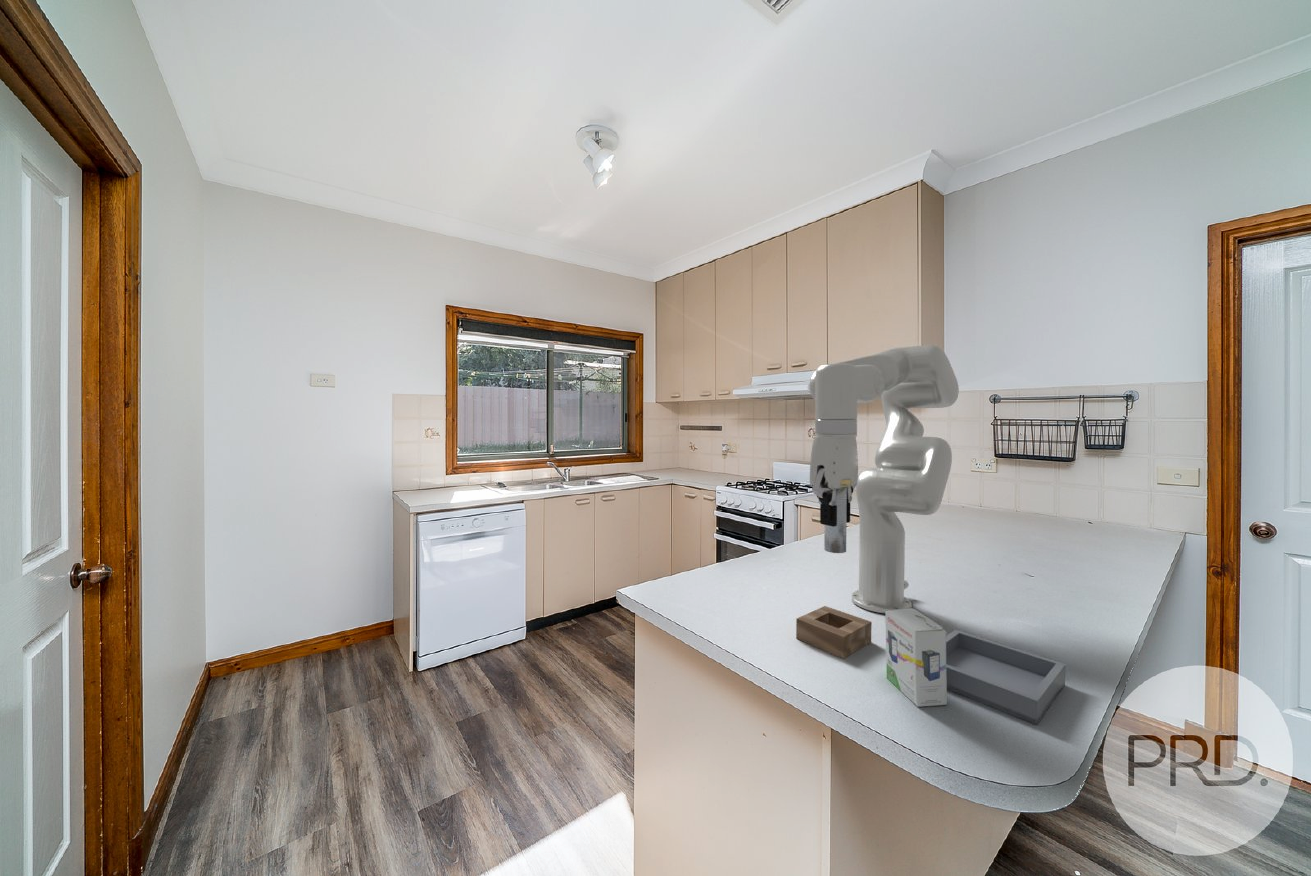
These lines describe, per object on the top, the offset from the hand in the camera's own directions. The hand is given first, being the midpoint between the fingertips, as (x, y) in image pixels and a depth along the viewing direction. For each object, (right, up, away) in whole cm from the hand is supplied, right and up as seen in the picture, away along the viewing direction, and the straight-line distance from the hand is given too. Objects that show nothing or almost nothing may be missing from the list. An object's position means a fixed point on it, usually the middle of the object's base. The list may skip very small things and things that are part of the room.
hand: (835, 522), depth 92 cm
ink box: (+6, -24, -16) cm, 30 cm away
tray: (+20, -24, -14) cm, 34 cm away
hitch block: (0, -23, +1) cm, 23 cm away
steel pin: (0, -5, 0) cm, 5 cm away
